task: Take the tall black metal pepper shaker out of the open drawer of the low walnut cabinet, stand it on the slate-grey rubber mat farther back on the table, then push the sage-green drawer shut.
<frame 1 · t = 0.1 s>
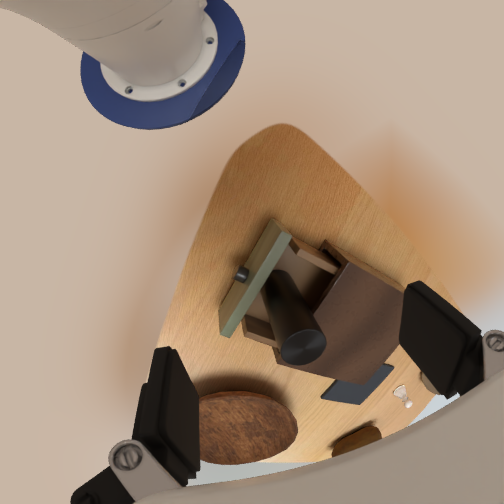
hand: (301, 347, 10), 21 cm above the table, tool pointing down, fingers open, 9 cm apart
cabinet: (338, 307, 36), on the table
potato: (352, 435, 51), on the table
mug: (438, 359, 46), on the table
mat: (358, 381, 43), on the table
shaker: (276, 285, 31), point 2 cm above the table, touching drawer
chess pawn: (398, 389, 47), on the table
drawer: (294, 297, 31), point 3 cm above the table, slide at 6.0 cm, touching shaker
bowl: (232, 413, 42), on the table
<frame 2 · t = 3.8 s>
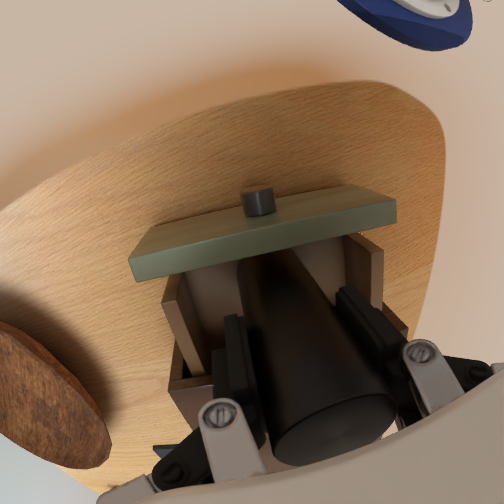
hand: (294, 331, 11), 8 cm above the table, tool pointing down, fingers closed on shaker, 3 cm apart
cabinet: (284, 372, 22), on the table
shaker: (269, 273, 17), point 2 cm above the table, touching drawer, gripper
drawer: (279, 315, 16), point 3 cm above the table, slide at 6.0 cm, touching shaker
bowl: (34, 377, 20), on the table
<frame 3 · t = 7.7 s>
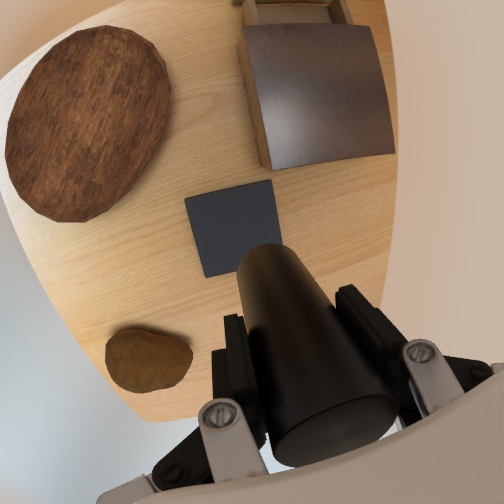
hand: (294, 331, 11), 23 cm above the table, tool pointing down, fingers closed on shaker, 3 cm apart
cabinet: (306, 97, 29), on the table
potato: (150, 344, 38), on the table
mat: (236, 229, 34), on the table
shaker: (269, 273, 16), point 18 cm above the table, touching gripper
drawer: (299, 25, 23), point 3 cm above the table, slide at 6.0 cm
bowl: (91, 123, 27), on the table
when the fingers open (6 cm above the table, at t = 11.7 s): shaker stays where it is, resting on mat.
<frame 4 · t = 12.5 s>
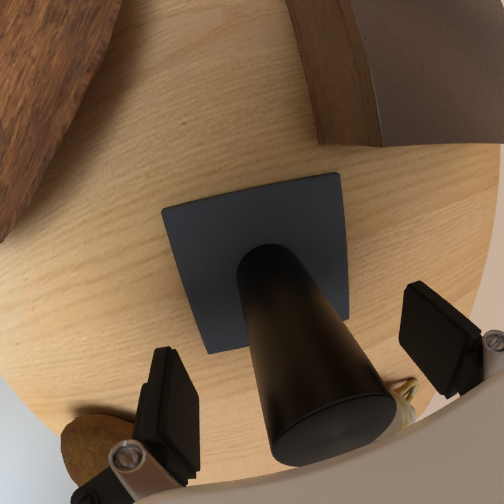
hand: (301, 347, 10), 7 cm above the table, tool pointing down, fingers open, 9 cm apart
cabinet: (390, 34, 12), on the table
potato: (128, 428, 22), on the table
mug: (377, 399, 24), on the table
mat: (267, 269, 17), on the table
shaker: (268, 274, 17), point 1 cm above the table, touching mat
bowl: (9, 79, 10), on the table
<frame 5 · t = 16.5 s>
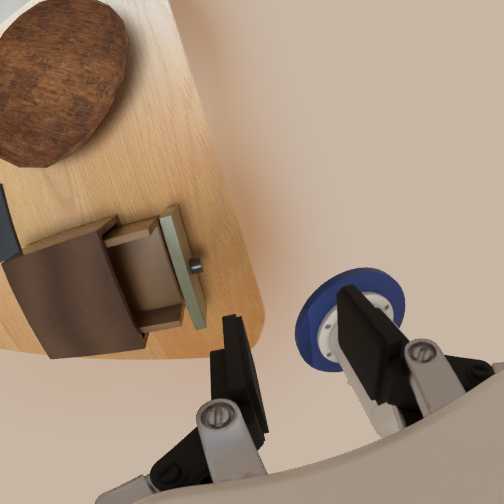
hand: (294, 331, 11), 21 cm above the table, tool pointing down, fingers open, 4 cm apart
cabinet: (86, 280, 31), on the table
drawer: (137, 279, 29), point 3 cm above the table, slide at 6.0 cm
bowl: (57, 81, 22), on the table
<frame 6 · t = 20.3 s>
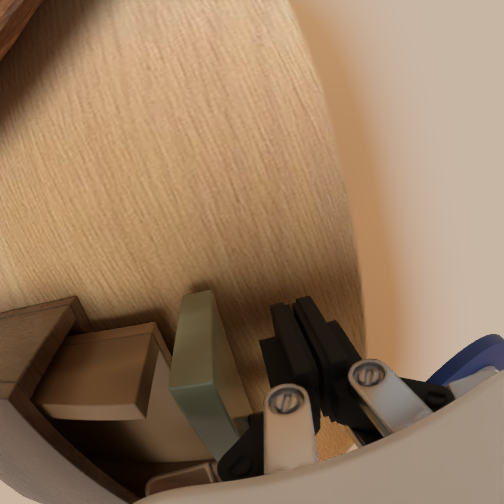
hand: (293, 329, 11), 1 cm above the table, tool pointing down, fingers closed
cabinet: (47, 398, 13), on the table
drawer: (128, 442, 10), point 3 cm above the table, slide at 5.1 cm, touching gripper
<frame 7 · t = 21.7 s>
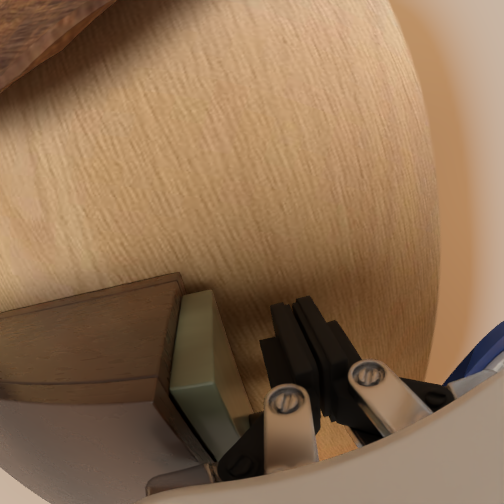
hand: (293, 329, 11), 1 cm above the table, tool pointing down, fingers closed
cabinet: (104, 398, 13), on the table
drawer: (128, 442, 10), point 3 cm above the table, slide at 0.0 cm, touching cabinet, gripper
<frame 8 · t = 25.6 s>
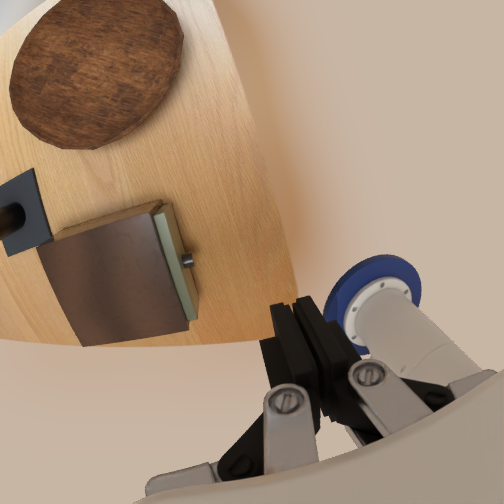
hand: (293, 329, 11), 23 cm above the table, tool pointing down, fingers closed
cabinet: (123, 265, 33), on the table
mat: (19, 214, 29), on the table
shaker: (16, 215, 28), point 1 cm above the table, touching mat
drawer: (133, 273, 30), point 3 cm above the table, slide at 0.0 cm
bowl: (99, 68, 24), on the table
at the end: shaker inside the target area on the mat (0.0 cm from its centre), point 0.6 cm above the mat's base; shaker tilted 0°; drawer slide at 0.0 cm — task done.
